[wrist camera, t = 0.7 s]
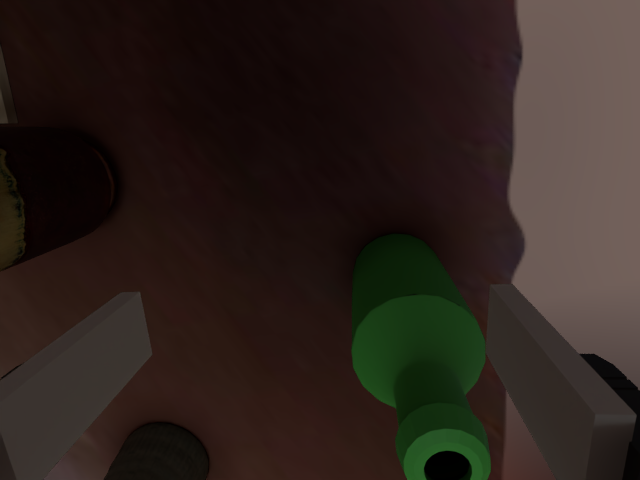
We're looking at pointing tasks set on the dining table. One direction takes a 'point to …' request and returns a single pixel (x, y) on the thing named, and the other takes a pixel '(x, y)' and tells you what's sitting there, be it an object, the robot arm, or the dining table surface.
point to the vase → (49, 191)
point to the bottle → (419, 357)
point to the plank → (6, 96)
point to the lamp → (160, 455)
